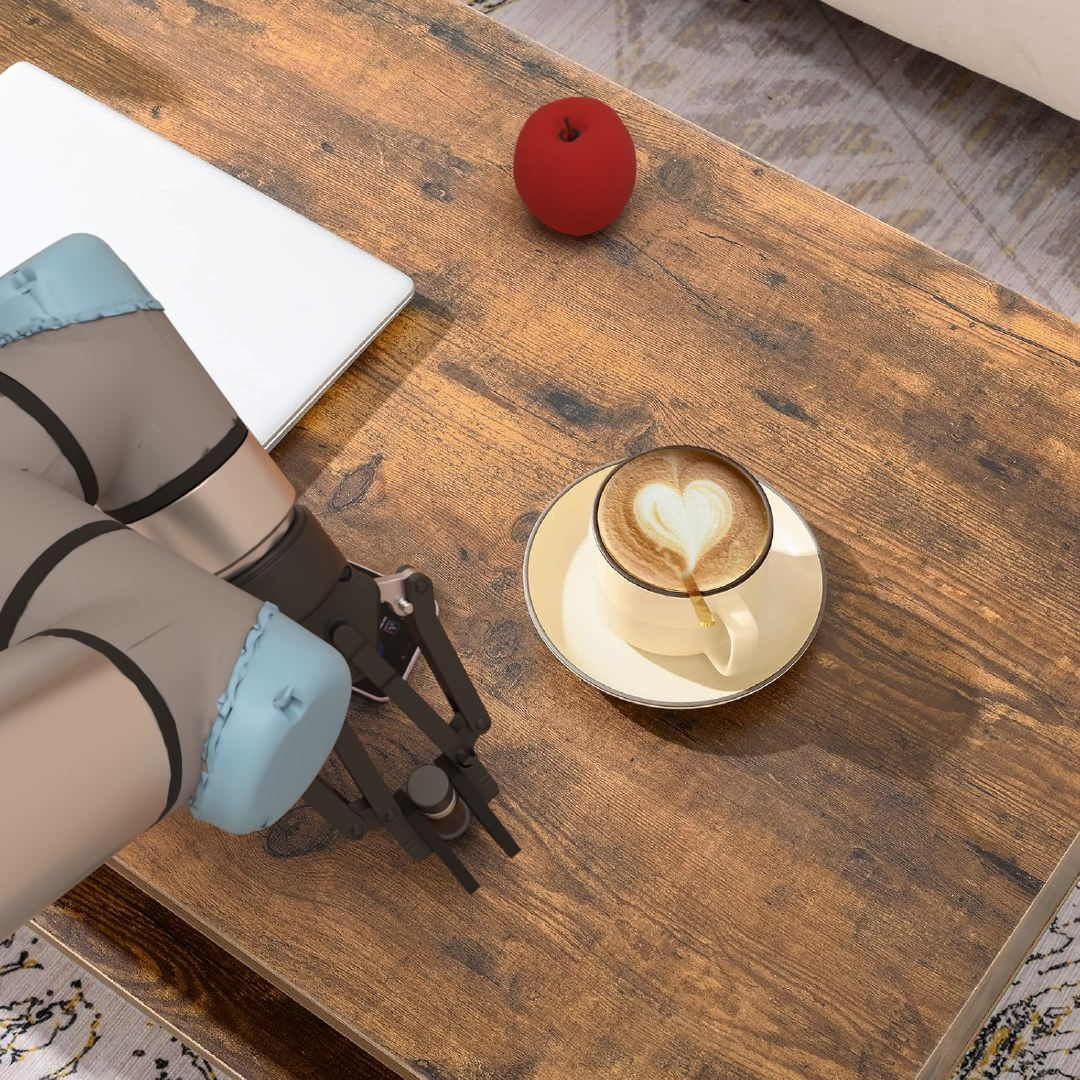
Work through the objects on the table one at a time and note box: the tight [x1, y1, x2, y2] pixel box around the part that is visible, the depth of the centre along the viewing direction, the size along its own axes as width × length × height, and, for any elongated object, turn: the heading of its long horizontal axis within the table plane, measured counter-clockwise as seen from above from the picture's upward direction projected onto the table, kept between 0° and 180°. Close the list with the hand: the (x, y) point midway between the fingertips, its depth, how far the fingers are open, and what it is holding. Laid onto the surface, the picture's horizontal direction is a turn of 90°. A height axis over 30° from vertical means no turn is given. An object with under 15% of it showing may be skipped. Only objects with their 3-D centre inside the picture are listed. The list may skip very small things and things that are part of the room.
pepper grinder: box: [406, 764, 471, 840], centre depth 65 cm, size 3×3×10 cm
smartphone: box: [346, 558, 440, 703], centre depth 75 cm, size 8×1×15 cm
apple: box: [512, 96, 637, 237], centre depth 83 cm, size 9×9×10 cm
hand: (486, 861), depth 65 cm, fingers closed on pepper grinder, 2 cm apart
